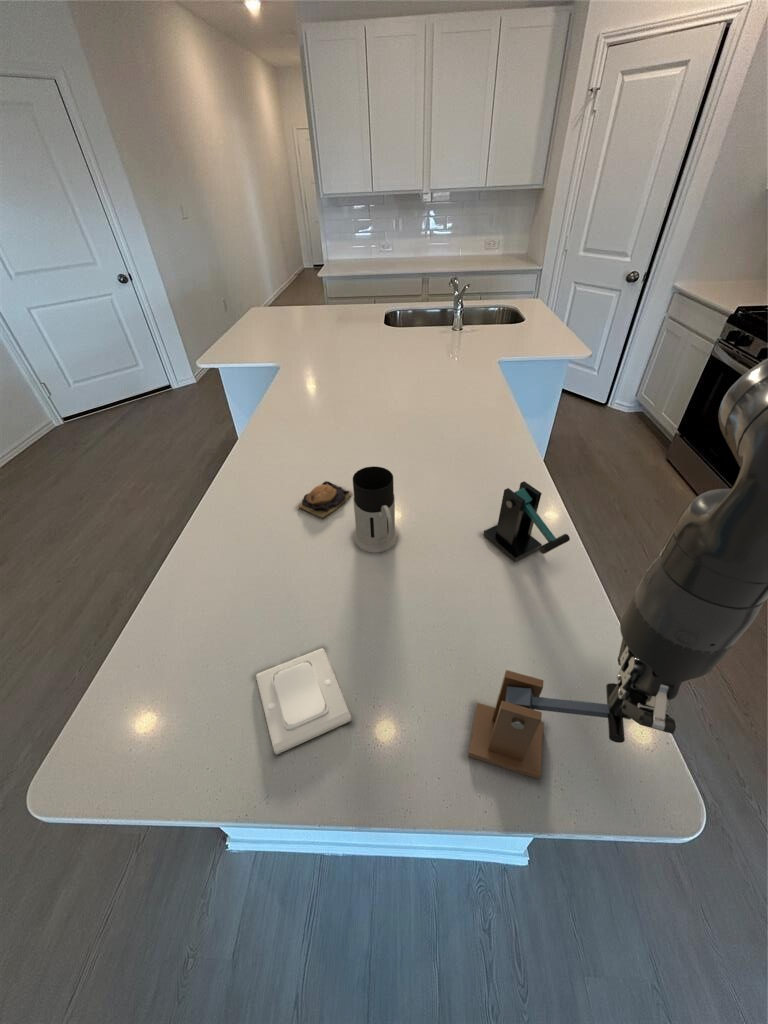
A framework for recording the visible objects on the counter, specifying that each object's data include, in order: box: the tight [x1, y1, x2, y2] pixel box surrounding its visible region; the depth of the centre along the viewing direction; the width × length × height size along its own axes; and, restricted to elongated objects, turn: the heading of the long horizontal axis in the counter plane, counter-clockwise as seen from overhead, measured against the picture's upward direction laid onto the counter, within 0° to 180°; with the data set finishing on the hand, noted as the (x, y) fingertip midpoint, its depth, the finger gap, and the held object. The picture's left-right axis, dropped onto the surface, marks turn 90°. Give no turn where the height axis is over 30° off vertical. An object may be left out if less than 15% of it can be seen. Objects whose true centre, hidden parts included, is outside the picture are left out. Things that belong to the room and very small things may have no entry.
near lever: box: [505, 682, 626, 744], centre depth 50 cm, size 12×6×2 cm, turn 71°
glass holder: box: [352, 466, 398, 554], centre depth 83 cm, size 9×14×15 cm, turn 18°
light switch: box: [255, 647, 352, 755], centre depth 63 cm, size 11×4×13 cm
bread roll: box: [298, 480, 352, 519], centre depth 98 cm, size 11×8×4 cm
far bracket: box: [482, 481, 543, 563], centre depth 84 cm, size 9×7×13 cm
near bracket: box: [467, 669, 544, 780], centre depth 55 cm, size 9×7×13 cm
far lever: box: [514, 488, 571, 555], centre depth 79 cm, size 12×6×2 cm, turn 31°
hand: (618, 708), depth 47 cm, fingers closed
